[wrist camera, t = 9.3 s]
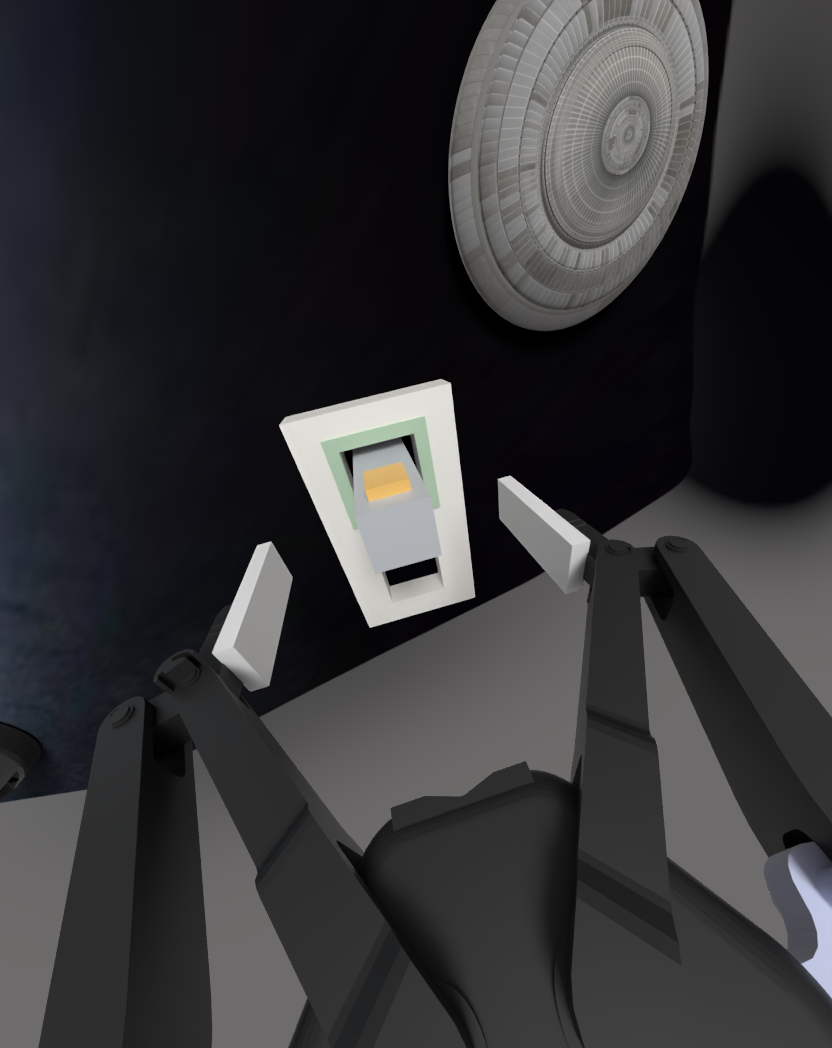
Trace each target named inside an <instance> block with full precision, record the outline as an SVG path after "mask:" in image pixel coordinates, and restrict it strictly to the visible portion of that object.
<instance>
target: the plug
mask: <svg viewBox="0 0 832 1048" xmlns="http://www.w3.org/2000/svg"><path fill="white" fill-rule="evenodd" d="M353 481H354V517H355V520H356V522H357V525H358V528H359V531H360V533H361V536H362V539H363V541H364V544H365V547H366V549H367V552H368V555H369V558H370V560H371V563H372V566H373V568H374V571H375V574H377V573H380V572H384V571H387V570H391V569H395V568H398V567H402V566H405V565H409V564H413V563H416V562H420V561H423V560H427V559H431V558H434V557H438V556H441V555H442V554H441V548H440V543H439V537H438V532H437V527H436V521H435V516H434V511H433V505H432V500H431V496H430V494H429V492H428V490H427V488H426V486H425V484H424V482H423V480H422V478H421V476H420V474H419V472H418V470H417V469H416V467H415V465H414V463H413V461H412V459H411V457H410V455H409V453H408V451H407V449H406V447H405V445H404V443H403V441H402V439H401V437H398V438H394V439H391V440H387V441H383V442H379V443H375V444H371V445H367V446H363V447H359V448H355V449H353Z"/></svg>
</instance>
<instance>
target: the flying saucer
mask: <svg viewBox="0 0 832 1048" xmlns="http://www.w3.org/2000/svg"><path fill="white" fill-rule="evenodd" d="M707 91H708V48H707V38H706V30H705V24H704V19H703V14H702V10H701V6H700V3H699V0H497V1H496V3H495V4H494V6H493V8H492V9H491V11H490V13H489V15H488V17H487V19H486V21H485V22H484V24H483V26H482V29H481V31H480V33H479V35H478V37H477V40H476V42H475V44H474V47H473V50H472V52H471V55H470V57H469V60H468V63H467V66H466V69H465V72H464V76H463V79H462V82H461V86H460V90H459V94H458V98H457V103H456V107H455V112H454V118H453V124H452V131H451V139H450V149H449V168H448V184H449V201H450V211H451V218H452V224H453V229H454V234H455V238H456V243H457V246H458V249H459V253H460V256H461V258H462V261H463V264H464V266H465V269H466V271H467V273H468V275H469V277H470V279H471V281H472V283H473V285H474V286H475V288H476V289H477V291H478V292H479V294H480V295H481V297H482V298H483V299H484V301H485V302H486V303H487V304H488V305H489V306H490V307H491V308H492V309H493V310H494V311H495V312H496V313H497V314H499V315H500V316H501V317H503V318H504V319H506V320H507V321H509V322H511V323H513V324H515V325H517V326H520V327H522V328H526V329H530V330H537V331H552V330H559V329H563V328H567V327H570V326H573V325H576V324H578V323H580V322H582V321H584V320H586V319H588V318H590V317H592V316H593V315H595V314H596V313H598V312H599V311H601V310H602V309H603V308H605V307H606V306H607V305H608V304H610V303H611V302H612V301H613V300H614V299H615V298H616V297H617V296H618V295H619V294H620V293H621V292H622V291H623V290H624V289H625V288H626V287H627V286H628V285H629V284H630V283H631V282H632V281H633V280H634V278H635V277H636V276H637V275H638V274H639V272H640V271H641V270H642V268H643V267H644V266H645V264H646V263H647V262H648V260H649V259H650V257H651V256H652V254H653V253H654V251H655V250H656V248H657V246H658V245H659V243H660V241H661V240H662V238H663V236H664V234H665V233H666V231H667V229H668V227H669V225H670V223H671V221H672V219H673V217H674V215H675V213H676V211H677V209H678V206H679V204H680V202H681V199H682V197H683V195H684V192H685V190H686V187H687V184H688V181H689V179H690V176H691V173H692V169H693V166H694V163H695V159H696V156H697V152H698V148H699V144H700V139H701V135H702V129H703V124H704V118H705V111H706V102H707Z"/></svg>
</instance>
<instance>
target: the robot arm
mask: <svg viewBox="0 0 832 1048" xmlns="http://www.w3.org/2000/svg"><path fill="white" fill-rule="evenodd" d="M498 495H499V519H500V520H501V521H502V522H503V523H504V524H505V525H506V527H507V528H508V529H509V530H510V531H511V532H512V533H513V535H514V536H515V537H516V538H517V539H518V540H519V541H520V542H521V544H522V545H523V546H524V547H525V548H526V549H527V550H528V552H529V553H530V554H531V555H532V556H533V557H534V558H535V560H536V561H537V562H538V563H539V564H540V565H541V566H542V568H543V569H544V570H545V571H546V572H547V573H548V574H549V576H550V577H551V578H552V579H553V580H554V581H555V582H556V584H557V585H558V586H559V587H560V588H561V589H562V590H563V591H564V593H565V594H568V593H571V592H574V591H577V590H581V589H582V586H583V580H585V581H586V582H587V583H588V584H589V585H590V589H589V594H588V599H587V603H588V608H587V609H588V610H587V620H586V630H585V641H584V652H583V663H582V674H581V685H580V696H579V706H578V717H577V728H576V740H575V750H574V756H573V763H572V770H571V780H570V782H568V781H566V780H565V779H562V778H560V777H558V776H556V775H554V774H550V773H547V772H543V771H538V770H529V768H528V765H527V763H526V761H525V762H522V763H519V764H516V765H514V766H511V767H507V768H505V769H502V770H499V771H496V772H493V773H492V774H491V775H490V776H488V777H487V778H486V779H485V780H483V781H482V782H481V783H479V784H478V785H477V786H476V787H474V788H473V789H472V790H470V791H469V792H468V793H467V794H466V795H463V796H460V797H449V796H445V797H444V796H424V797H421V798H418V799H415V800H412V801H410V802H407V803H404V804H401V805H398V806H395V807H392V808H391V815H392V819H391V820H389V821H388V822H387V823H386V824H385V825H384V826H383V827H382V828H381V829H380V830H379V831H378V833H377V834H376V835H375V836H374V838H373V839H372V841H371V842H370V844H369V845H368V847H367V849H366V850H365V852H363V851H362V850H361V848H360V847H359V846H358V845H357V844H356V842H355V841H354V840H353V839H352V838H351V837H350V836H349V835H348V834H347V833H346V832H345V830H344V829H343V828H342V827H341V825H340V824H339V823H338V821H337V820H336V819H335V817H334V816H333V815H332V814H331V812H330V811H329V810H328V808H327V807H326V806H325V804H324V803H323V802H322V800H321V799H320V798H319V796H318V795H317V794H316V792H315V791H314V790H313V788H312V787H311V786H310V785H309V783H308V782H307V780H306V779H305V778H304V776H303V775H302V774H301V773H300V771H299V770H298V769H297V767H296V766H295V765H294V763H293V762H292V761H291V759H290V758H289V757H288V755H287V754H286V753H285V751H284V750H283V749H282V748H281V746H280V745H279V743H278V742H277V741H276V740H275V738H274V737H273V736H272V734H271V733H270V732H269V730H268V729H267V728H266V726H265V725H264V724H263V722H262V721H261V720H260V718H259V717H258V716H257V714H256V713H255V712H254V710H253V709H252V708H251V706H250V705H249V704H248V702H247V701H246V700H245V698H244V697H243V696H242V695H240V693H241V689H242V686H243V685H244V686H245V687H246V688H247V689H248V690H249V691H250V692H251V691H254V690H257V689H260V688H264V687H267V686H269V684H270V679H271V675H272V670H273V665H274V661H275V656H276V652H277V647H278V642H279V638H280V633H281V629H282V624H283V619H284V615H285V610H286V606H287V601H288V596H289V592H290V587H291V583H292V578H293V577H292V576H291V574H290V572H289V571H288V569H287V567H286V566H285V564H284V562H283V560H282V559H281V557H280V555H279V554H278V552H277V550H276V549H275V547H274V545H273V544H272V542H268V543H264V544H261V545H257V547H256V550H255V552H254V554H253V557H252V559H251V561H250V564H249V566H248V569H247V571H246V573H245V576H244V578H243V580H242V583H241V585H240V587H239V590H238V592H237V594H236V597H235V599H234V602H233V604H231V605H228V606H225V607H224V608H223V609H222V610H221V611H220V613H219V614H218V615H217V616H216V618H215V620H214V622H213V625H212V628H211V629H210V631H209V633H208V636H207V637H206V640H205V642H204V644H203V646H202V648H201V650H200V653H199V655H198V654H197V653H196V652H195V651H194V650H192V649H185V650H183V651H180V652H177V653H176V654H174V655H173V656H171V657H170V658H168V659H167V660H166V661H165V662H164V663H163V664H162V665H161V666H160V667H159V669H158V670H157V671H156V674H155V676H154V683H155V684H156V685H158V686H159V687H160V688H162V689H163V690H164V691H166V692H165V693H163V694H161V695H159V696H157V697H156V698H154V699H152V700H150V701H147V700H146V699H144V698H142V697H133V698H131V699H129V700H127V701H125V702H123V703H122V704H120V705H119V706H118V707H116V708H115V709H114V710H113V711H112V712H111V713H110V714H109V715H108V716H107V717H106V719H105V720H104V721H103V723H102V724H101V726H100V729H99V731H98V736H97V741H96V746H95V752H94V757H93V762H92V767H91V773H90V778H89V783H88V789H87V794H86V799H85V805H84V810H83V815H82V821H81V826H80V831H79V836H78V842H77V847H76V852H75V858H74V863H73V868H72V873H71V879H70V884H69V889H68V894H67V900H66V905H65V910H64V916H63V921H62V926H61V931H60V937H59V942H58V948H57V952H56V958H55V963H54V968H53V974H52V979H51V985H50V990H49V995H48V1000H47V1005H46V1011H45V1016H44V1022H43V1026H42V1032H41V1037H40V1043H39V1048H211V1045H212V1012H211V990H210V976H209V963H208V950H207V936H206V924H205V910H204V897H203V884H202V871H201V858H200V845H199V832H198V819H197V806H196V792H195V779H194V766H193V753H192V740H193V742H194V744H195V746H196V748H197V750H198V752H199V754H200V756H201V758H202V760H203V762H204V764H205V766H206V768H207V769H208V771H209V774H210V776H211V778H212V780H213V782H214V784H215V786H216V788H217V789H218V792H219V794H220V796H221V798H222V799H223V801H224V804H225V806H226V808H227V810H228V812H229V814H230V816H231V818H232V820H233V821H234V824H235V825H236V828H237V830H238V832H239V834H240V835H241V837H242V840H243V842H244V843H245V846H246V848H247V850H248V852H249V854H250V855H251V858H252V860H253V862H254V863H255V866H256V868H257V873H258V874H257V876H256V879H255V883H256V889H257V891H258V894H259V896H260V899H261V901H262V903H263V905H264V907H265V909H266V911H267V913H268V915H269V918H270V920H271V922H272V924H273V926H274V928H275V930H276V932H277V934H278V936H279V939H280V941H281V943H282V945H283V947H284V949H285V951H286V953H287V955H288V958H289V960H290V961H291V964H292V966H293V968H294V970H295V972H296V974H297V976H298V978H299V981H300V983H301V985H302V987H303V989H304V991H305V993H306V995H307V997H308V998H307V1000H306V1003H305V1006H304V1008H303V1011H302V1013H301V1016H300V1019H299V1021H298V1024H297V1026H296V1029H295V1032H294V1034H293V1037H292V1039H291V1043H290V1045H289V1047H288V1048H832V717H831V716H830V715H829V713H828V712H827V711H826V710H825V708H824V707H823V706H822V705H821V703H820V702H819V701H818V699H817V698H816V697H815V695H814V694H813V693H812V692H811V690H810V689H809V688H808V686H807V685H806V684H805V683H804V681H803V680H802V679H801V678H800V676H799V675H798V674H797V672H796V671H795V670H794V668H793V667H792V666H791V664H790V663H789V662H788V661H787V659H786V658H785V657H784V656H783V654H782V653H781V652H780V650H779V649H778V648H777V646H776V645H775V644H774V643H773V641H772V640H771V639H770V637H769V636H768V635H767V634H766V632H765V631H764V630H763V628H762V627H761V626H760V625H759V623H758V622H757V621H756V619H755V618H754V617H753V616H752V614H751V613H750V612H749V610H748V609H747V608H746V607H745V605H744V604H743V603H742V601H741V600H740V599H739V598H738V596H737V595H736V594H735V592H734V591H733V590H732V588H731V587H730V586H729V585H728V583H727V582H726V581H725V580H724V578H723V577H722V576H721V574H720V573H719V572H718V570H717V569H716V568H715V567H714V565H713V564H712V563H711V561H710V560H709V559H708V558H707V556H706V555H705V554H704V552H703V551H702V550H701V549H700V547H699V546H698V545H697V544H695V543H694V542H692V541H690V540H688V539H686V538H682V537H678V536H664V537H661V538H659V539H658V540H657V541H656V544H655V547H642V548H634V547H633V546H632V545H631V544H629V543H626V542H624V541H620V540H608V539H606V538H605V537H604V536H603V535H601V534H600V533H599V532H597V531H596V530H595V529H593V528H592V527H591V526H589V525H588V524H586V523H585V522H584V521H583V520H580V518H579V517H577V516H576V515H575V514H573V513H572V512H569V511H567V510H564V509H559V510H556V511H554V510H552V509H551V508H550V507H549V506H547V505H546V504H545V503H544V502H542V501H541V500H540V499H539V498H537V497H536V496H535V495H534V494H532V493H531V492H530V491H529V490H528V489H526V488H525V487H524V486H523V485H521V484H520V483H519V482H518V481H516V480H515V479H514V478H513V477H511V476H507V477H504V478H500V479H498ZM640 597H644V599H645V601H646V603H647V605H648V607H649V610H650V612H651V614H652V616H653V618H654V620H655V623H656V625H657V627H658V629H659V631H660V634H661V636H662V638H663V640H664V643H665V645H666V647H667V649H668V651H669V653H670V656H671V658H672V660H673V662H674V664H675V667H676V669H677V671H678V673H679V675H680V678H681V680H682V682H683V684H684V686H685V689H686V691H687V693H688V695H689V697H690V700H691V702H692V704H693V706H694V708H695V710H696V713H697V715H698V717H699V719H700V722H701V724H702V726H703V728H704V730H705V733H706V735H707V737H708V739H709V741H710V743H711V746H712V748H713V750H714V752H715V754H716V757H717V759H718V761H719V763H720V765H721V768H722V770H723V772H724V774H725V776H726V779H727V781H728V783H729V785H730V787H731V790H732V792H733V794H734V796H735V798H736V800H737V802H738V804H739V806H740V808H741V810H742V812H743V814H744V816H745V818H746V820H747V822H748V824H749V826H750V827H751V829H752V831H753V832H754V834H755V836H756V837H757V839H758V841H759V842H760V844H761V845H762V847H763V849H764V851H765V852H766V854H767V855H768V857H769V858H768V859H767V861H766V863H765V867H764V875H765V879H766V883H767V887H768V889H769V891H770V894H771V897H772V900H773V903H774V905H775V906H776V908H777V909H778V911H779V912H780V913H781V915H782V917H783V919H784V923H785V926H786V930H787V933H788V949H787V950H786V949H785V948H784V947H782V945H780V944H779V943H778V942H777V941H775V939H773V938H772V937H771V936H770V935H768V934H767V933H766V932H764V931H763V930H762V929H761V928H759V927H758V926H757V925H755V924H754V923H753V922H751V921H750V920H749V919H747V918H746V917H745V916H743V915H742V914H741V913H740V912H738V911H737V910H736V909H735V908H733V907H732V906H730V905H729V904H728V903H727V902H725V901H724V900H723V899H722V898H720V897H719V896H717V895H716V894H715V893H714V892H712V891H711V890H710V889H709V888H707V887H706V886H705V885H703V884H702V883H701V882H699V881H698V880H697V879H695V878H694V877H693V876H691V875H690V874H689V873H688V872H686V871H685V870H684V869H683V868H681V867H680V866H679V865H677V864H676V863H675V862H673V861H672V860H671V859H669V858H668V857H667V853H666V842H665V831H664V830H665V829H664V818H663V806H662V794H661V782H660V771H659V759H658V750H657V745H656V741H655V739H654V738H653V737H652V736H651V734H650V731H649V719H648V705H647V693H646V692H647V691H646V676H645V663H644V648H643V633H642V619H641V604H640ZM40 756H41V748H40V746H39V744H38V743H37V742H36V741H35V740H34V739H33V738H32V737H30V736H29V735H27V734H25V733H24V732H21V731H19V730H17V729H15V728H12V727H9V726H6V725H3V724H0V801H1V800H2V799H3V798H4V797H5V796H7V795H8V794H9V793H10V792H11V791H12V790H13V789H14V788H15V787H17V786H18V785H19V784H20V783H21V782H22V781H23V780H24V778H25V777H26V776H27V775H28V773H29V772H30V770H31V769H32V768H33V766H34V765H35V764H36V762H37V761H38V760H39V758H40Z"/></svg>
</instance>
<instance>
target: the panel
mask: <svg viewBox="0 0 832 1048" xmlns="http://www.w3.org/2000/svg"><path fill="white" fill-rule="evenodd" d="M279 426H280V429H281V431H282V433H283V435H284V438H285V440H286V442H287V444H288V447H289V449H290V451H291V453H292V455H293V458H294V460H295V462H296V464H297V467H298V469H299V471H300V473H301V476H302V478H303V480H304V482H305V484H306V487H307V489H308V491H309V493H310V496H311V498H312V500H313V502H314V505H315V507H316V509H317V511H318V513H319V516H320V518H321V520H322V522H323V525H324V527H325V529H326V531H327V534H328V536H329V538H330V540H331V542H332V545H333V547H334V549H335V551H336V554H337V556H338V558H339V560H340V563H341V565H342V567H343V569H344V571H345V574H346V576H347V578H348V580H349V583H350V585H351V587H352V589H353V592H354V594H355V596H356V598H357V600H358V603H359V605H360V607H361V609H362V612H363V614H364V616H365V618H366V621H367V623H368V625H369V627H370V628H371V627H374V626H378V625H381V624H385V623H388V622H392V621H395V620H398V619H402V618H405V617H409V616H412V615H416V614H419V613H423V612H426V611H430V610H433V609H437V608H440V607H444V606H447V605H450V604H454V603H457V602H461V601H464V600H468V599H471V598H475V590H474V582H473V573H472V564H471V556H470V547H469V538H468V530H467V521H466V512H465V503H464V495H463V486H462V477H461V469H460V460H459V451H458V443H457V434H456V425H455V417H454V408H453V399H452V391H451V383H449V382H447V381H445V380H442V379H439V380H435V381H431V382H427V383H423V384H419V385H415V386H411V387H407V388H402V389H398V390H394V391H390V392H386V393H382V394H378V395H374V396H370V397H366V398H362V399H358V400H353V401H349V402H345V403H341V404H337V405H333V406H329V407H325V408H321V409H317V410H313V411H308V412H304V413H300V414H296V415H292V416H288V417H285V419H284V420H283V421H282V422H281V423H280V425H279ZM406 435H410V437H411V442H412V447H413V452H414V457H415V461H416V466H417V470H418V472H419V474H420V476H421V478H422V480H423V482H424V484H425V486H426V488H427V490H428V492H429V494H430V496H431V500H432V505H433V511H434V516H435V521H436V527H437V532H438V537H439V543H440V548H441V554H442V555H441V556H438V557H435V559H436V564H437V569H438V573H435V574H432V575H428V576H425V577H421V578H417V579H414V580H410V581H407V582H403V583H400V584H396V585H393V586H390V585H389V583H388V580H387V577H386V574H385V571H384V572H380V573H377V574H375V571H374V568H373V566H372V563H371V560H370V558H369V555H368V552H367V549H366V547H365V544H364V541H363V539H362V536H361V533H360V531H359V528H358V525H357V522H356V520H355V517H354V481H353V478H352V475H351V472H350V469H349V466H348V463H347V460H346V457H345V454H344V452H343V451H347V450H351V449H355V448H359V447H363V446H367V445H371V444H375V443H379V442H383V441H387V440H391V439H394V438H398V437H402V436H406Z"/></svg>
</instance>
